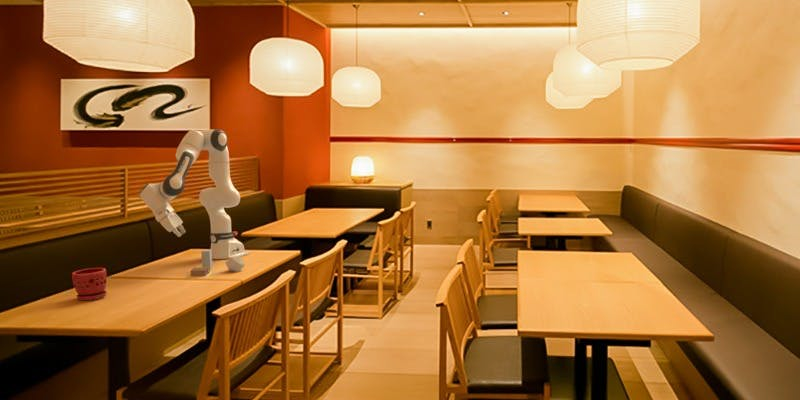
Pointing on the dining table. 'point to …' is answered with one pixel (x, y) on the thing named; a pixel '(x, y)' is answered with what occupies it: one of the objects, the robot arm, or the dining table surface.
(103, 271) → the plant pot
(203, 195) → the robot arm
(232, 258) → the die
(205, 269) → the base block
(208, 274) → the mat
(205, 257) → the column
